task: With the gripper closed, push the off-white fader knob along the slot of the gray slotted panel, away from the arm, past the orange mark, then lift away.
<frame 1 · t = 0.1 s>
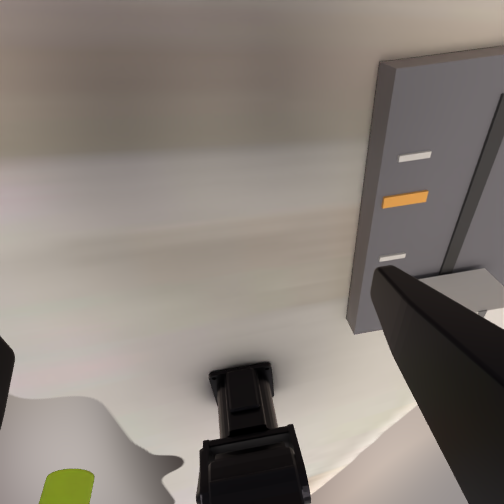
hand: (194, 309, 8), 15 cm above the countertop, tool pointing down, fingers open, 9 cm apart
gray slotted panel: (445, 210, 26), on the countertop
soap dispenser: (69, 474, 45), on the countertop
fader: (459, 305, 27), point 5 cm above the countertop, slide at 0.0 cm
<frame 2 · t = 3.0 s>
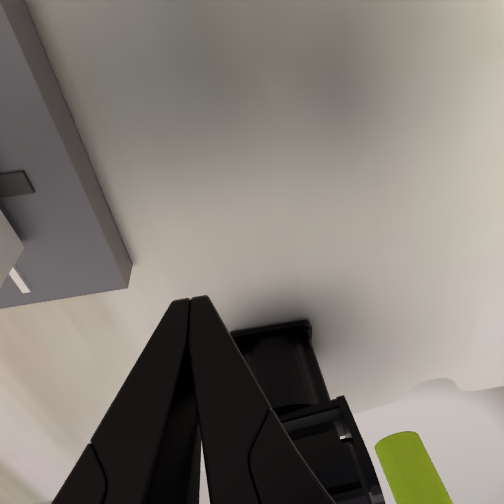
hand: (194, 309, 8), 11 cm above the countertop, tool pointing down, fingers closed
soap dispenser: (391, 441, 45), on the countertop
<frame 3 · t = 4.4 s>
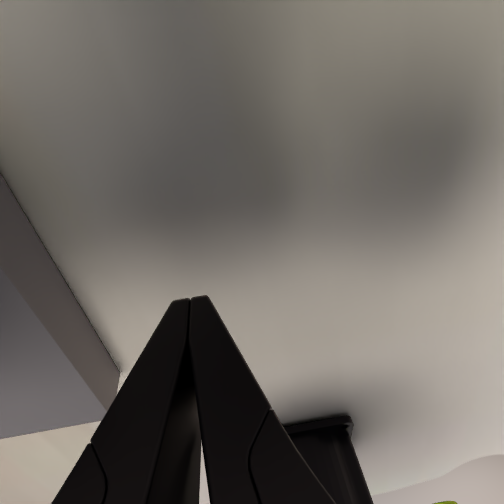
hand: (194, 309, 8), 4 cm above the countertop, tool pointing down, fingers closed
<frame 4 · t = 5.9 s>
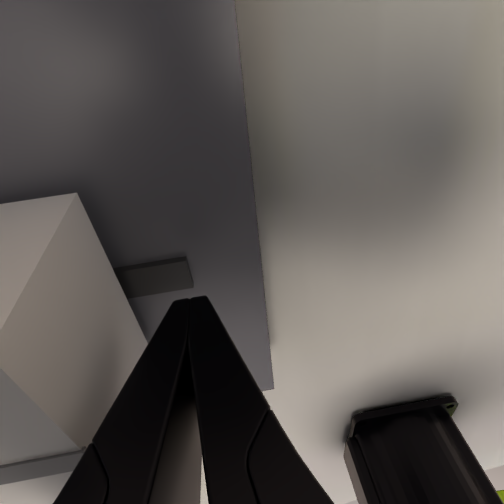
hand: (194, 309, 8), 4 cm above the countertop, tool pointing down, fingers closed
soap dispenser: (482, 498, 39), on the countertop
fader: (39, 371, 7), point 5 cm above the countertop, slide at 0.3 cm, touching gripper
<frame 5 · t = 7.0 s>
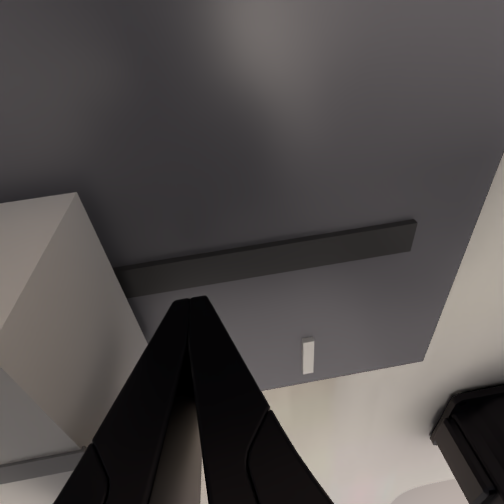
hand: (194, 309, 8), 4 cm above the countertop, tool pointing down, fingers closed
gray slotted panel: (108, 242, 11), on the countertop
fader: (39, 370, 7), point 5 cm above the countertop, slide at 6.6 cm, touching gripper
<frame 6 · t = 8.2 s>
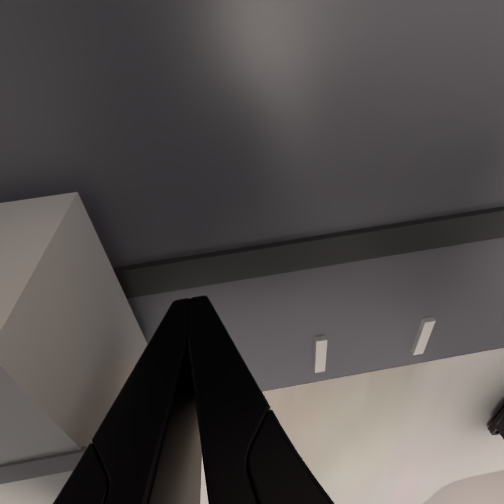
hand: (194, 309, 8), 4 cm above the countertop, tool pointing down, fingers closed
gray slotted panel: (247, 221, 11), on the countertop
fader: (39, 370, 7), point 5 cm above the countertop, slide at 11.1 cm, touching gripper
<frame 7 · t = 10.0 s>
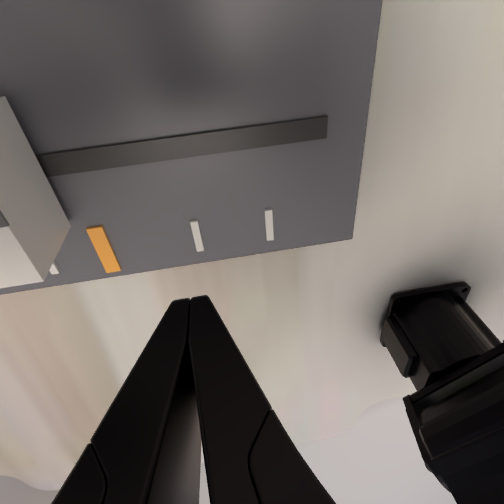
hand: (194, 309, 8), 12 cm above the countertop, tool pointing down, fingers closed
gray slotted panel: (138, 137, 17), on the countertop
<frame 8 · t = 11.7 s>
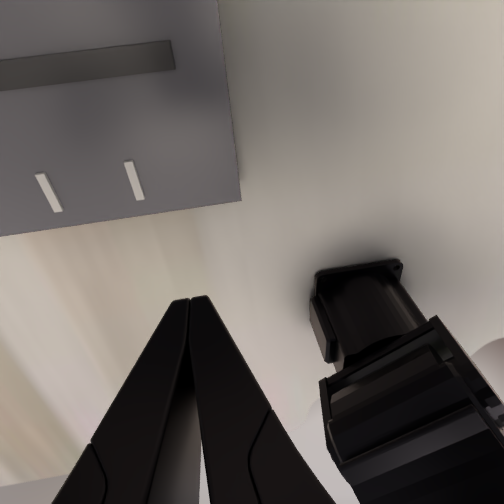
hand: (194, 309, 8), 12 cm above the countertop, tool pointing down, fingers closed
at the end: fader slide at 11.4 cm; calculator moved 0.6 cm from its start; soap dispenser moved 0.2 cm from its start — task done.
